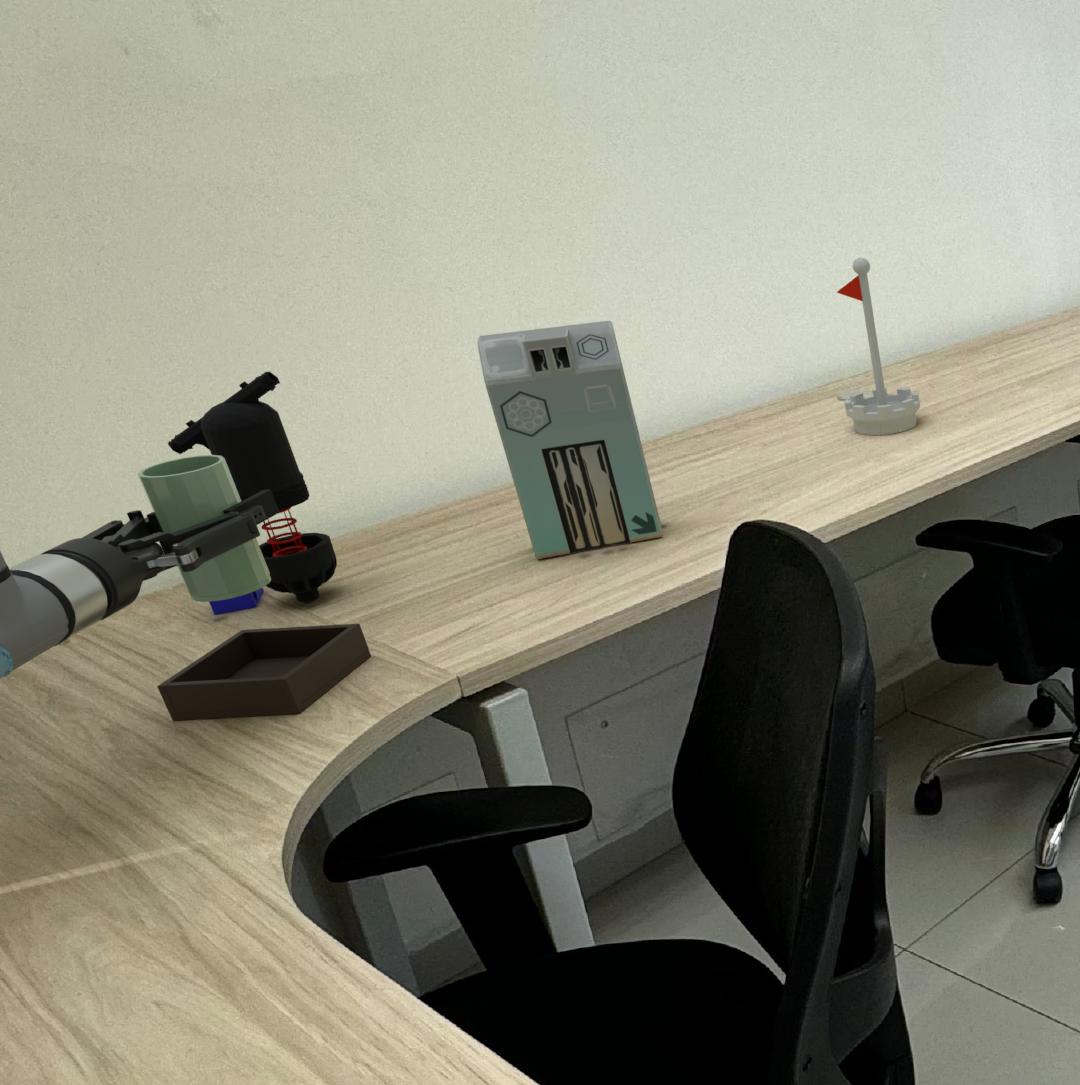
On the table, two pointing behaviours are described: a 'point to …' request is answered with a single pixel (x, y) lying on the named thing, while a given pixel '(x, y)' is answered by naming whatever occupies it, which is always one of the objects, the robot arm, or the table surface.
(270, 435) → the filter
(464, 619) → the table surface
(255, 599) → the blue block
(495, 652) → the table surface
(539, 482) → the device
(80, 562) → the robot arm
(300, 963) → the table surface
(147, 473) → the green pipe segment
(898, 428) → the flag stand
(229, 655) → the tray
